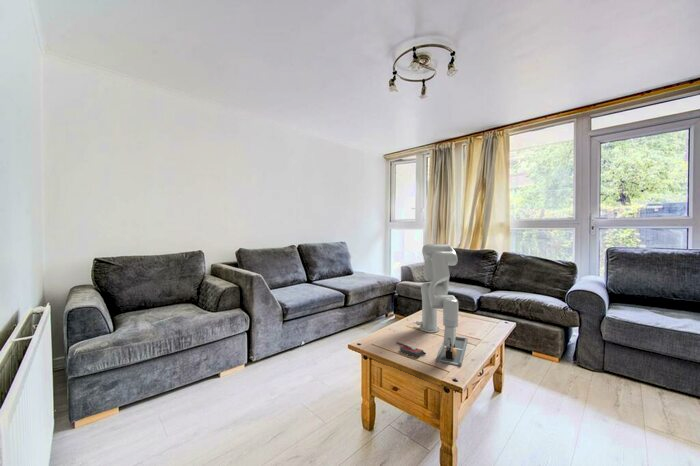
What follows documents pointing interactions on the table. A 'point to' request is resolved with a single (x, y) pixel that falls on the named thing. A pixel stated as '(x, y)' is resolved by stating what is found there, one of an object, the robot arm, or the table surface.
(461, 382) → the table surface
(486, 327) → the table surface
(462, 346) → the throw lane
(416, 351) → the walkie-talkie
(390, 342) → the table surface
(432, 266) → the robot arm
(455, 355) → the ball
